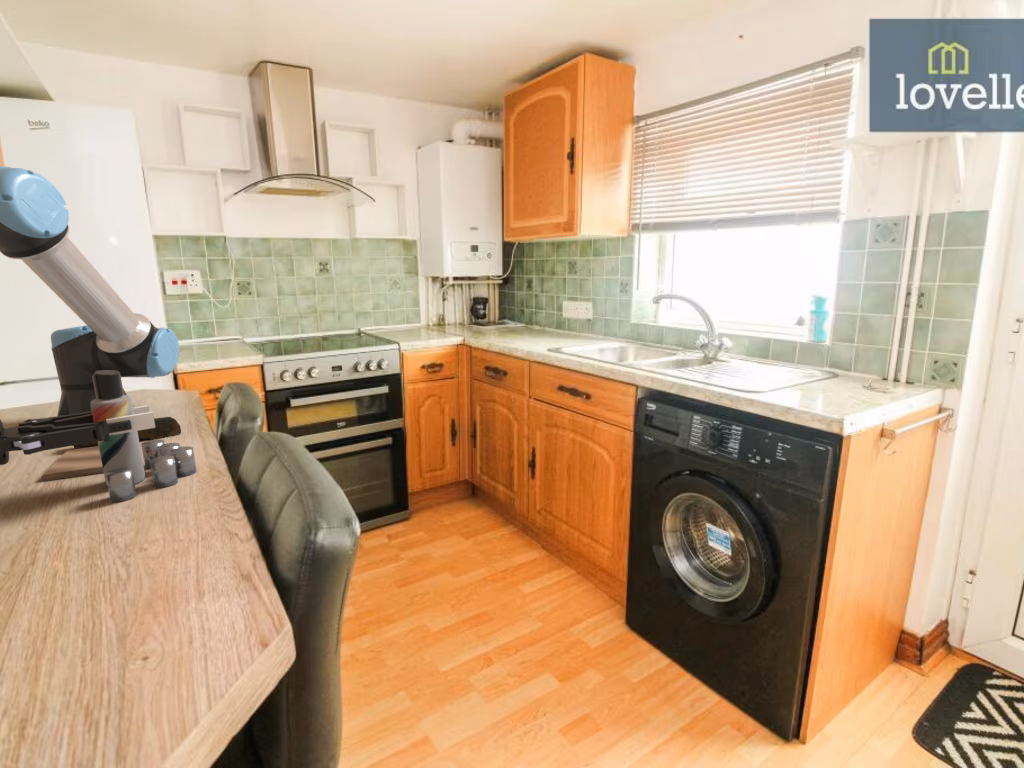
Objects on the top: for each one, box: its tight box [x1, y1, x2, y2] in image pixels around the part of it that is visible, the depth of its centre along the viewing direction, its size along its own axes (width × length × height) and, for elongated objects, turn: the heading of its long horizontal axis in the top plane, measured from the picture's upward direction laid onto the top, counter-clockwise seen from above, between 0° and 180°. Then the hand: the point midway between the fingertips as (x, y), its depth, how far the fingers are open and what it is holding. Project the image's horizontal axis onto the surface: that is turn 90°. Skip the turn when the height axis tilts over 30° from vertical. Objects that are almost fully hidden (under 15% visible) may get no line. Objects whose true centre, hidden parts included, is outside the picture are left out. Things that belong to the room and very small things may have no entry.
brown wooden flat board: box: [42, 446, 104, 482], centre depth 104 cm, size 14×11×1 cm
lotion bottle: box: [91, 370, 146, 485], centre depth 93 cm, size 6×6×20 cm
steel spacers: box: [104, 439, 197, 503], centre depth 97 cm, size 18×12×4 cm, turn 24°
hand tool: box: [72, 416, 182, 449], centre depth 116 cm, size 19×4×5 cm, turn 119°
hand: (151, 416), depth 96 cm, fingers closed on lotion bottle, 5 cm apart
